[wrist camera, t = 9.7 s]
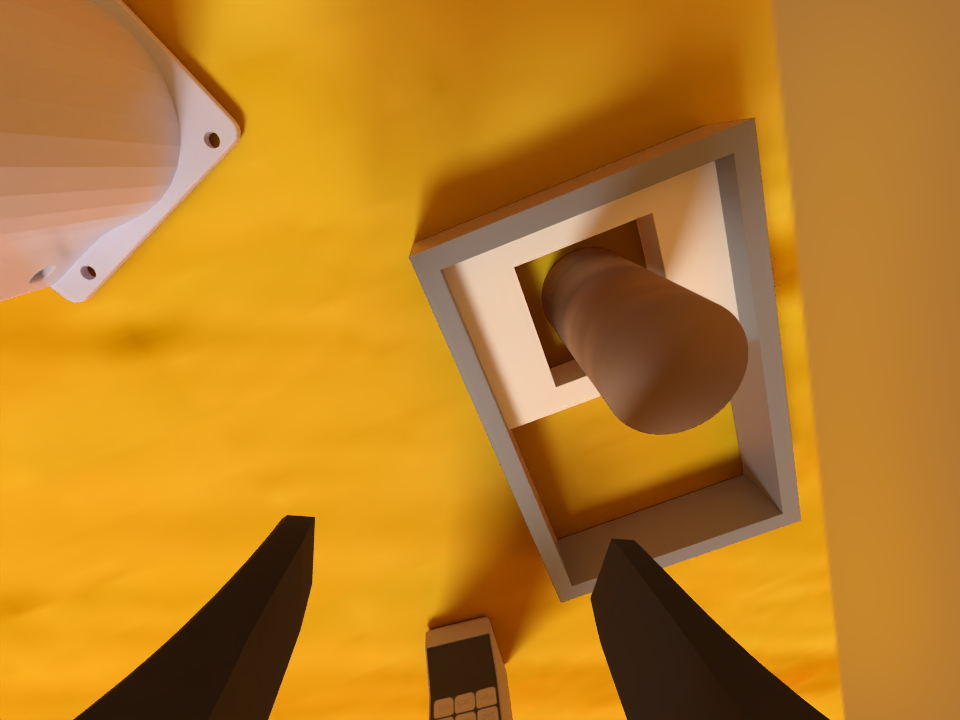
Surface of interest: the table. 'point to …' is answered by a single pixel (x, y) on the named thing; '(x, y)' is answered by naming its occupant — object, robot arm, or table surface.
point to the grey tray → (542, 391)
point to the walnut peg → (645, 340)
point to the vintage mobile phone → (466, 673)
